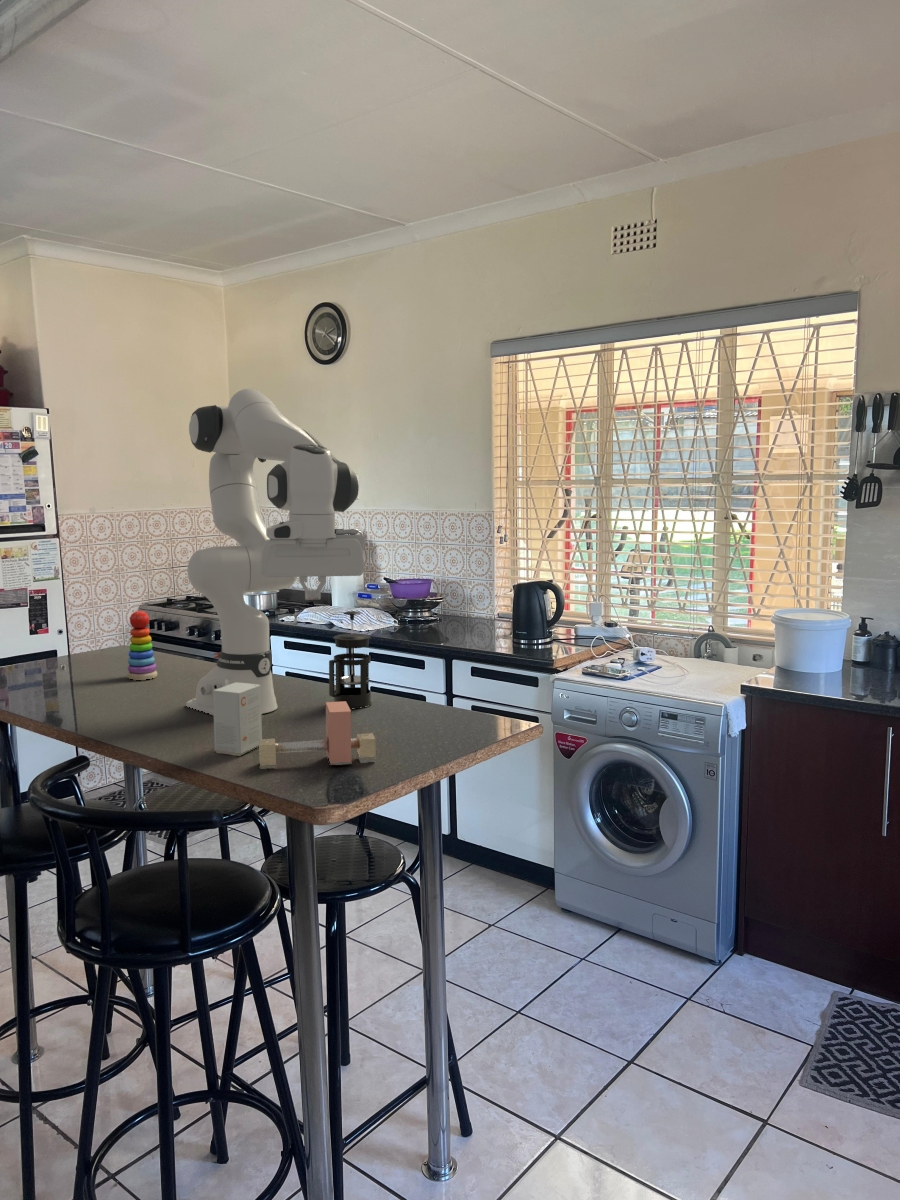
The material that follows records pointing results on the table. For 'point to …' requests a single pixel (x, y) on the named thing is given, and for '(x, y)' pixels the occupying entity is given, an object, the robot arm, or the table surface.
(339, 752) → the collar
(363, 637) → the french press
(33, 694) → the table surface
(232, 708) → the small box
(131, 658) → the stacking toy
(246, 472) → the robot arm
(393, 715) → the table surface
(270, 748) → the pipe rig
